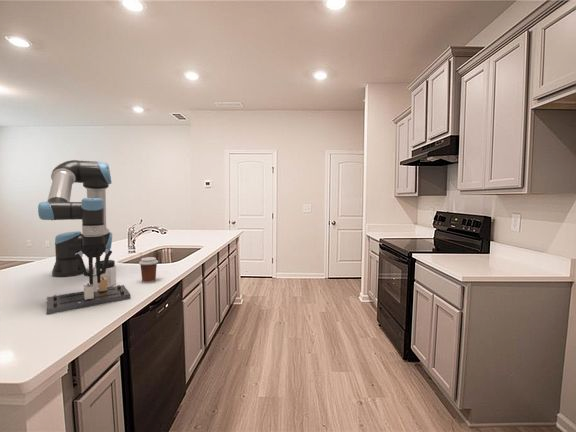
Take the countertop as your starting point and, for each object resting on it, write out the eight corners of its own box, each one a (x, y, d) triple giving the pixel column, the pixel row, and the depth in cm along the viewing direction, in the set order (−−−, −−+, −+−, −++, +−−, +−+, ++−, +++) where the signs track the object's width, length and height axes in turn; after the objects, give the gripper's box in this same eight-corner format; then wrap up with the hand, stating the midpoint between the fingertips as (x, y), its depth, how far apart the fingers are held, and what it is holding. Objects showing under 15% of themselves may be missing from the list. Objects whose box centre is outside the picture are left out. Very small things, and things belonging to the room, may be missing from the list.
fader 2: (98, 289, 129) (98, 277, 128) (106, 287, 131) (105, 276, 130) (99, 291, 126) (99, 279, 125) (107, 290, 128) (107, 278, 127)
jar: (94, 289, 136) (93, 264, 135) (94, 284, 143) (94, 261, 142) (116, 286, 141) (116, 262, 140) (115, 282, 147) (115, 259, 147)
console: (47, 301, 119) (47, 294, 119) (123, 289, 137) (123, 282, 137) (46, 314, 107) (46, 306, 107) (130, 298, 125) (130, 292, 124)
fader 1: (84, 296, 119) (83, 284, 118) (92, 295, 121) (92, 282, 120) (84, 299, 116) (84, 286, 115) (93, 298, 118) (93, 285, 117)
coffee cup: (145, 284, 144) (145, 261, 144) (135, 281, 149) (135, 258, 148) (162, 280, 152) (161, 258, 151) (151, 277, 157) (151, 255, 156)
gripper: (74, 237, 111) (76, 296, 113) (113, 235, 119) (114, 290, 121) (73, 235, 117) (75, 291, 118) (110, 233, 125) (111, 285, 127)
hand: (95, 290), depth 120 cm, fingers closed
